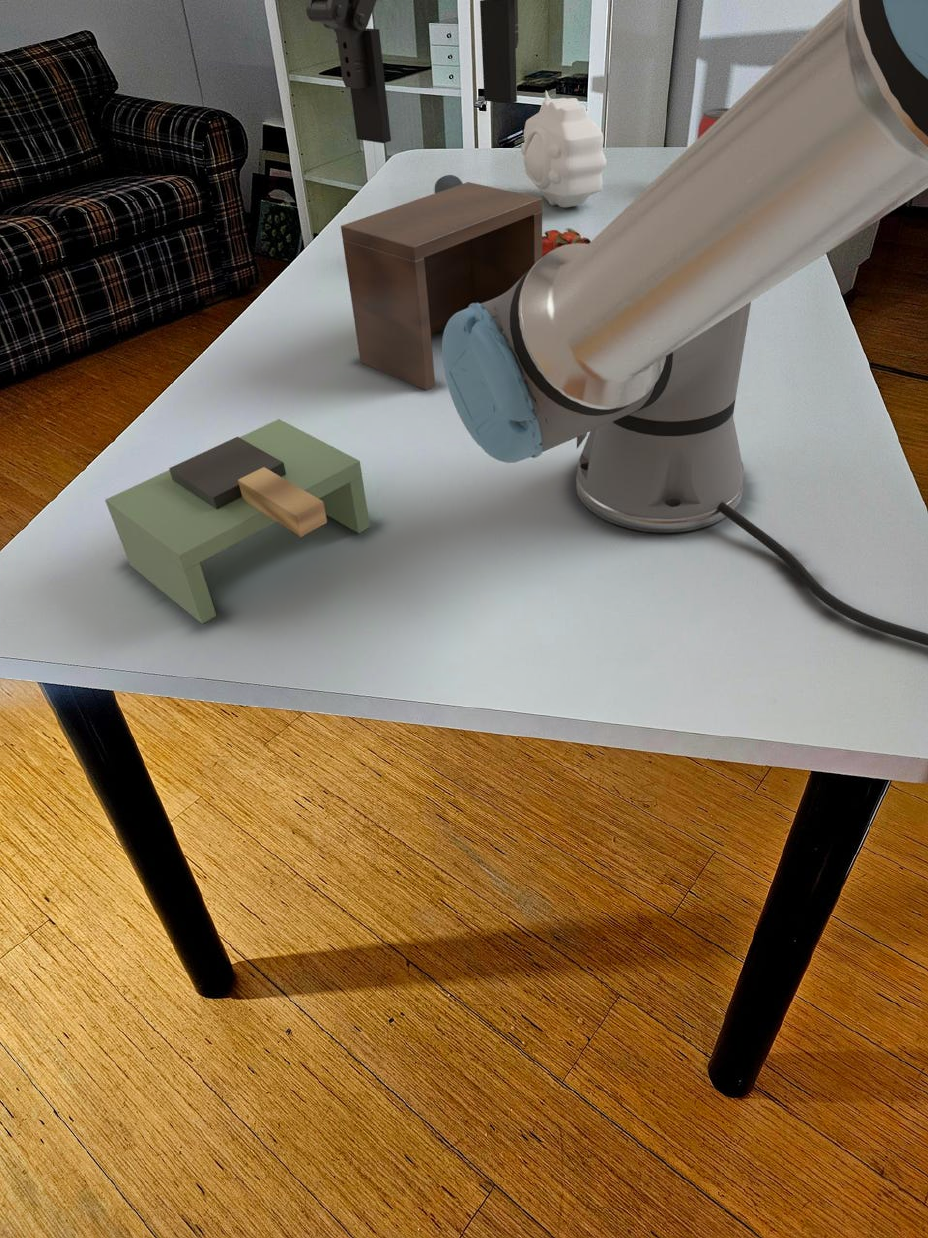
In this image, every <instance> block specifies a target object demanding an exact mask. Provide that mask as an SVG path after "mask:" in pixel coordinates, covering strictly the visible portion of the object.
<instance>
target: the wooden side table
mask: <svg viewBox="0 0 928 1238" xmlns="http://www.w3.org/2000/svg"><path fill="white" fill-rule="evenodd" d="M422 197H423V198H420V197H419V198H420V199H419V198H418V199H415V200H412V201H408V202H406V203H403V204H400V205H397V206H394V207H391V208H388V209H386V210H383V211H381V212H376V213H374V214H371V215H369V216H366V217H363V218H360V219H357V220H354V221H351V222H348V223H345V224H342V225H341V226H340V230H341V238H342V246H343V253H344V258H345V265H346V272H347V279H348V280H347V281H348V286H349V293H350V300H351V308H352V313H353V314H352V316H353V321H354V327H355V335H356V336H355V337H356V342H357V349H358V355H359V362H360V363H361V364H363V365H365V366H368V367H371V368H373V369H375V370H377V371H380V372H383V373H385V374H387V375H389V376H392V377H393V378H396V379H398V380H401V381H403V382H406V383H409V384H411V385H413V386H416V387H417V388H421V389H423V390H425V391H428V390H430V389H432V388H434V387H436V378H435V366H434V355H433V342H432V336H433V335H435V334H438V333H439V332H442V331H444V330H445V327H446V325H447V322H448V321H449V319H450V318H451V317H452V316H453V315H454V314H455V313H457V312H459V311H462V310H464V309H466V308H468V307H469V305H470V304H472V303H476V302H478V303H480V304H481V303H484V302H487V301H490V300H492V299H494V298H496V297H499V296H500V295H502V294H504V293H505V292H507V291H508V290H509V289H511V288H512V287H513V286H514V285H515V284H516V283H517V282H518V281H519V279H520V278H521V277H522V276H523V275H524V274H525V273H526V272H527V271H528V270H529V269H531V268H532V267H533V265H534V264H535V263H536V262H537V261H538V260H539V259H541V258H542V236H543V198H542V197H539V196H535V195H529V194H525V193H521V192H517V191H516V192H515V191H511V190H507V189H502V188H497V187H493V186H489V185H483V184H479V183H474V182H471V181H470V182H469V181H467V182H463V184H461V185H458V186H455V187H452V188H449V189H447V190H444V191H441V192H438V193H435V192H434V193H432V194H430V195H427V196H422Z"/></svg>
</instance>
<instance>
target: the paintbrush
mask: <svg viewBox="0 0 928 1238" xmlns="http://www.w3.org/2000/svg"><path fill="white" fill-rule="evenodd" d="M461 184H464V182H463V181H462V180H461V179H460V178H459V177H458V176H456V175H453V174H445V175H443V176H441V177H439V179H437V180H436V181H435V183H434V194H435V193H438V192H441V191H444V190H447V189H449V188H452V187H455V186H458V185H461Z"/></svg>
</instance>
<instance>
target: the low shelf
mask: <svg viewBox="0 0 928 1238" xmlns="http://www.w3.org/2000/svg"><path fill="white" fill-rule="evenodd" d="M238 437H239V438H241V439H243V440H245V441H246V442H248V443H250V444H252V445H253V446H255V447H257V448H259V449H261V450H262V451H264V452H266V453H268V454H269V455H271V456H273V457H275V458H277V459H278V460H280V461H282V462H283V463H284V467H285V471H286V475H284V476H282V478H284V479H285V480H287V481H289V482H291V483H292V484H294V485H296V486H297V487H299V488H301V489H303V490H304V491H306V492H308V493H309V494H311V495H313V496H315V497H316V498H318V499H320V500H322V501H323V503H324V508H325V514H326V516H328V517H329V518H332V519H333V520H335V521H337V522H338V523H339V524H341V525H343V526H345V527H346V528H348V529H350V530H352V531H354V532H355V533H357V534H361V533H363V532H364V531H366V530H368V529H369V528H370V527H371V523H370V517H369V511H368V505H367V499H366V493H365V485H364V479H363V472H362V466H361V461H360V460H359V459H357V458H355V457H353V456H351V455H349V454H347V453H346V452H343V451H341V450H340V449H338V448H336V447H334V446H332V445H330V444H329V443H326V442H324V441H322V440H320V439H318V438H316V437H315V436H313V435H311V434H309V433H307V432H305V431H304V430H301V429H299V428H297V427H296V426H293V425H292V424H290V423H287V422H286V421H284V420H282V419H280V418H278V419H276V420H274V421H271V422H269V423H267V424H265V425H263V426H261V427H259V428H256V429H255V430H252V431H250V432H248V433H246V434H243V435H241V436H238ZM104 502H105V503H106V506H107V509H108V511H109V514H110V517H111V519H112V522H113V525H114V527H115V530H116V532H117V535H118V538H119V541H120V543H121V545H122V547H123V550H124V553H125V556H126V558H127V561H128V563H129V566H130V567H132V568H133V569H134V570H135V571H136V572H138V573H139V574H140V575H141V576H142V577H144V579H146V580H148V581H149V582H150V583H151V584H152V585H153V586H155V587H156V588H157V589H158V590H159V591H161V592H162V593H163V594H165V595H166V596H167V597H168V598H170V599H171V600H172V601H173V602H174V603H176V604H177V605H178V606H179V607H181V608H182V609H183V610H185V611H186V612H187V613H188V614H189V615H191V616H192V617H193V618H194V619H195V620H197V622H199V623H200V624H202V625H203V624H205V623H207V622H208V621H210V620H212V619H215V617H217V613H216V610H215V607H214V604H213V601H212V597H211V594H210V591H209V588H208V585H207V581H206V579H205V576H204V573H203V568H202V565H201V562H204V561H205V560H207V559H210V558H211V557H213V556H214V555H216V554H218V553H220V552H222V551H224V550H226V549H228V548H229V547H231V546H234V545H235V544H237V543H239V542H240V541H242V540H244V539H247V538H248V537H250V536H252V535H254V534H255V533H258V532H259V531H261V530H263V529H266V528H267V527H269V526H271V525H272V524H275V523H276V522H277V521H275V520H274V519H272V518H270V517H269V516H267V515H266V514H264V513H263V512H261V511H259V510H258V509H256V508H255V507H253V506H251V505H250V504H248V503H247V502H245V501H244V500H243V498H242V497H241V498H239V499H237V500H235V501H233V502H231V503H229V504H227V505H225V506H223V507H221V508H219V509H216V508H214V507H213V506H211V505H210V504H208V503H207V502H205V501H204V500H202V499H200V498H199V497H197V496H196V495H194V494H193V493H191V492H190V491H188V490H187V489H185V488H184V487H182V486H181V485H179V484H178V483H176V482H175V481H173V479H172V476H171V473H170V470H169V469H168V470H166V471H164V472H162V473H160V474H158V475H156V476H153V477H151V478H149V479H147V480H145V481H143V482H140V483H138V484H136V485H134V486H131V487H129V488H127V489H125V490H123V491H120V492H119V493H117V494H115V495H112V496H110V497H108V498H106V499H105V500H104Z"/></svg>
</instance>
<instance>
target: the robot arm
mask: <svg viewBox="0 0 928 1238" xmlns="http://www.w3.org/2000/svg"><path fill="white" fill-rule="evenodd" d="M377 1H378V0H306V7H305V12H306V16H307V18H308V19H309V20H310V21H311V22H313V23H320V24H322V25H323V27H325V28H326V29H327V30H333V31H334V33H335V36H336V41H337V47H338V48H337V49H338V56H339V62H340V63H339V64H340V70H341V79H342V82H343V84H344V86H345V88H347V89H350V97H351V105H352V112H353V113H352V114H353V120H354V128H355V134H356V140H360V141H365V142H373V143H378V144H387V143H389V142H392V137H391V135H392V134H391V127H390V119H389V118H390V117H389V110H388V109H389V108H388V99H387V89H386V81H385V71H384V63H383V54H382V53H383V51H382V43H381V35H380V34H381V33H380V29H379V28H367V27H368V25H369V22H370V20H371V17H372V14H373V11H374V9H375V7H376V3H377ZM518 1H519V0H479V8H480V9H479V10H480V12H479V13H480V33H481V53H482V55H481V56H482V57H481V59H482V76H483V77H482V79H483V100H484V102H492V103H500V104H501V103H502V104H510V105H511V104H514V103H517V102H518V93H517V92H518V91H517V89H518V88H517V87H518V86H517V51H516V50H517V49H518V45H519V2H518ZM927 189H928V0H841V1H840V2H839V3H838V4H837V5H835V6H834V8H833V9H831V10H830V12H828V13H827V14H826V15H825V16H824V17H823V18H821V20H820V21H819V22H817V24H816V25H815V26H813V28H812V29H811V30H809V31H808V33H806V34H805V35H804V36H803V37H802V38H801V39H800V40H799V41H798V42H797V43H796V44H795V45H794V46H793V47H792V48H791V49H790V50H788V52H787V53H785V54H784V56H783V57H781V59H779V60H778V61H777V62H776V63H775V64H774V65H773V66H772V67H771V68H770V69H768V71H767V72H765V74H764V75H763V76H762V77H760V79H758V80H757V81H756V83H754V84H753V86H751V87H750V88H748V90H747V91H746V92H745V93H744V94H743V95H742V96H741V97H740V98H738V100H737V101H736V102H735V103H734V104H733V105H731V106H730V108H729V110H728V111H727V112H726V113H724V114H723V115H722V116H721V117H720V118H719V119H718V120H717V121H716V122H715V123H714V124H713V125H712V126H711V127H710V128H709V129H708V130H707V131H706V132H705V133H704V134H703V135H702V136H701V137H700V138H698V137H697V139H696V140H695V141H694V142H693V143H692V144H691V145H690V146H689V147H688V148H686V150H685V151H684V152H683V153H682V154H681V155H679V156H678V157H677V158H676V159H675V160H674V162H672V163H671V164H670V165H669V166H668V167H667V168H666V169H665V170H664V171H663V172H662V173H661V174H659V176H657V178H655V179H654V180H653V182H652V183H650V185H649V186H648V187H646V188H645V189H644V190H643V191H642V192H641V193H640V194H639V195H638V196H637V197H636V198H635V199H633V201H631V203H630V204H629V205H627V206H626V208H624V209H623V211H621V212H620V213H619V214H618V215H617V216H616V217H615V218H614V219H613V220H612V221H611V222H610V223H609V224H608V225H607V226H606V227H605V228H604V229H602V230H601V231H600V232H599V233H598V234H597V235H596V236H595V237H594V238H593V239H592V240H590V241H591V242H590V243H589V244H581V243H574V244H568V245H563V246H561V247H558V248H556V249H554V250H552V251H550V252H549V253H547V254H546V255H545V256H543V257H542V258H541V259H539V260H538V261H537V262H536V263H535V264H534V265H533V267H532V268H531V269H529V270H528V271H527V272H526V273H525V274H524V275H523V276H522V277H521V278H520V279H519V281H518V282H517V283H516V284H515V285H514V286H513V287H512V288H511V289H509V290H508V291H507V292H505V293H504V294H502V295H500V296H499V297H496V298H494V299H492V300H490V301H487V302H484V303H481V304H480V303H478V302H476V303H472V304H470V305H469V307H468V308H466V309H464V310H462V311H459V312H457V313H455V314H454V315H453V316H452V317H451V318H450V319H449V321H448V322H447V325H446V327H445V329H444V330H443V333H442V338H441V339H442V340H441V357H442V359H441V360H442V365H443V372H444V377H445V381H446V385H447V389H448V391H449V395H450V397H451V400H452V403H453V405H454V407H455V410H456V412H457V414H458V416H459V418H460V420H461V422H462V425H464V427H465V429H466V430H467V432H468V434H469V435H470V436H471V439H473V441H474V442H475V443H476V444H477V445H478V446H479V447H481V449H482V450H483V451H484V452H485V453H486V454H487V455H488V456H489V457H490V458H493V459H495V460H497V461H499V462H502V463H507V464H514V463H518V462H520V461H523V460H526V459H529V458H531V459H536V458H538V457H539V456H541V455H542V454H543V453H544V452H546V451H548V450H551V449H553V448H556V447H558V446H560V445H562V444H564V443H566V442H569V441H572V440H574V439H576V449H579V447H580V445H581V444H582V443H583V442H584V441H585V443H584V446H583V448H582V451H581V453H580V457H579V459H578V463H577V466H576V479H575V481H576V482H575V483H576V484H575V488H576V493H577V496H578V498H579V500H580V501H581V503H582V504H583V505H584V506H585V507H586V509H588V510H589V511H590V512H591V513H593V514H594V515H596V516H597V517H599V518H601V519H602V520H604V521H606V522H609V523H610V524H613V525H617V526H619V527H622V528H625V529H630V530H635V531H640V532H646V533H647V532H648V533H658V534H659V533H663V534H665V533H667V534H668V533H669V534H670V533H684V532H689V531H695V530H699V529H703V528H706V527H709V526H712V525H715V524H716V523H719V522H721V521H722V520H724V519H725V518H728V519H729V520H731V521H732V522H733V523H735V525H737V526H738V527H740V528H741V529H742V530H743V531H745V532H747V534H749V535H750V536H752V537H753V538H754V539H756V540H757V541H758V542H759V543H761V544H762V545H763V546H765V547H766V548H767V549H769V550H770V551H772V553H773V554H775V555H776V556H777V557H778V558H780V560H781V561H783V562H784V563H785V564H786V565H787V566H788V568H789V569H790V570H791V571H792V572H793V573H794V574H795V575H796V576H797V578H798V579H799V580H800V581H801V582H802V584H803V585H804V586H805V587H806V588H807V589H808V590H809V591H810V592H811V593H812V594H813V595H814V596H815V597H816V598H817V599H818V600H820V601H821V602H822V603H823V604H824V605H826V606H827V607H829V608H831V609H832V610H834V611H836V612H837V613H838V614H841V615H842V616H844V617H845V618H848V619H850V620H852V621H853V622H856V623H858V624H860V625H863V626H864V627H867V628H870V629H873V630H876V631H878V632H881V633H884V634H887V635H891V636H892V637H893V636H894V637H897V638H900V639H904V640H907V641H910V642H914V643H917V644H920V645H924V646H926V647H928V633H927V632H924V631H920V630H916V629H913V628H910V627H906V626H903V625H899V624H896V623H893V622H890V621H887V620H885V619H880V618H878V617H875V616H873V615H871V614H867V613H866V612H863V611H862V610H859V609H857V608H854V607H853V606H851V605H849V604H847V603H846V602H845V601H842V600H841V599H839V598H837V597H836V596H835V595H833V594H832V593H830V592H829V591H828V590H827V589H825V588H824V587H823V586H822V585H821V584H820V583H819V582H818V581H817V580H816V579H815V578H814V577H813V575H811V573H810V572H809V571H808V570H807V569H806V567H805V566H804V565H803V564H802V563H801V562H800V561H799V560H798V559H797V558H796V557H795V556H794V555H793V554H792V553H791V552H790V551H788V550H787V549H786V548H785V547H784V546H783V545H781V544H780V542H778V541H776V539H774V538H773V537H772V536H770V535H769V534H767V533H766V532H765V531H763V530H762V529H760V528H759V527H758V526H757V525H755V524H754V523H753V522H751V521H750V520H749V519H747V518H746V517H745V516H744V515H742V514H740V512H737V511H736V509H737V508H738V506H739V504H740V503H741V499H742V494H743V491H744V484H745V468H744V463H743V461H742V456H741V450H740V444H739V439H738V434H737V429H736V425H735V424H736V423H735V420H734V419H735V418H734V413H735V407H736V399H737V393H738V387H739V380H740V374H741V369H742V368H741V367H742V361H743V355H744V349H745V343H746V337H747V331H748V330H747V329H748V324H749V317H750V312H751V305H752V301H754V300H756V299H757V298H759V297H760V296H762V295H764V294H765V293H767V292H769V291H770V290H771V289H773V288H775V287H776V286H778V285H779V284H781V283H782V282H784V281H785V280H787V279H788V278H790V277H791V276H793V275H795V274H797V273H798V272H799V271H802V269H804V268H805V267H808V266H809V265H810V264H812V263H813V262H815V261H816V260H818V259H820V258H822V257H823V256H824V255H825V254H827V253H829V252H830V251H832V250H833V249H835V248H837V247H838V246H840V245H841V244H843V243H844V242H846V241H848V240H849V239H851V238H852V237H854V236H855V235H857V234H858V233H861V231H863V230H865V229H866V228H868V227H870V226H871V225H873V224H874V223H876V222H877V221H879V220H880V219H882V218H884V217H885V216H887V215H888V214H890V213H891V212H892V211H894V210H896V209H897V208H899V207H901V206H902V205H904V204H905V203H907V202H908V201H910V200H912V199H913V198H914V197H916V196H918V195H919V194H921V193H922V192H924V191H925V190H927ZM588 433H589V434H588ZM586 438H587V439H586ZM585 439H586V440H585Z"/></svg>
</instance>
